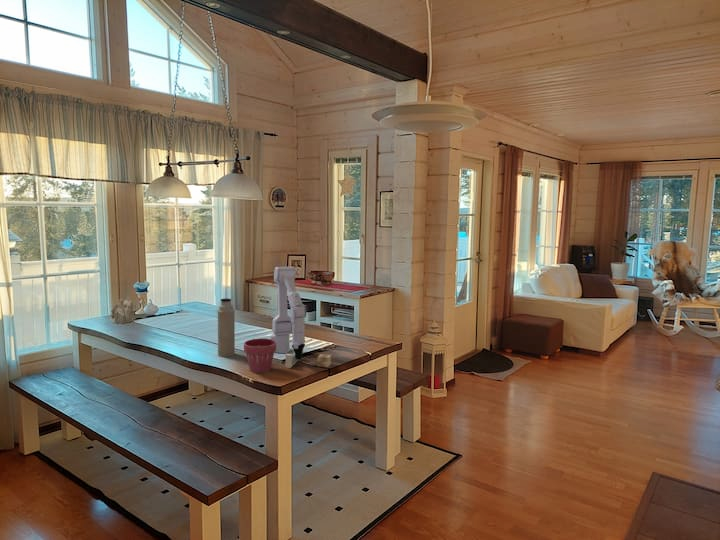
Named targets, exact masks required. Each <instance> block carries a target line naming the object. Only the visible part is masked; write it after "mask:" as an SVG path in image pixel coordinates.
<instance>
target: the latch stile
mask: <svg viewBox="0 0 720 540" xmlns="http://www.w3.org/2000/svg"><path fill="white" fill-rule="evenodd" d="M292 354H293V353H285V368H288V369H291V368H292V367H293V366H292Z"/></svg>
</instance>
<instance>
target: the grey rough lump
mask: <svg viewBox="0 0 720 540" xmlns="http://www.w3.org/2000/svg"><path fill="white" fill-rule="evenodd" d="M118 302H119V303H116V304H115V306H114V307H113V308H112V309H111V311H110V312H111V313H110V315H111V317H110V319H109V321H110V322H111V323H112V324H118V325H119V324H125V323H131V322H133V321H135V320H136V318H135V314H134V313H135V312H134V308H133V307H134V304H133V301H132V300H131V297H130V296H128V297H127V298H126V300H123V299H119V300H118Z"/></svg>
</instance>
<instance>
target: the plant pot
mask: <svg viewBox="0 0 720 540" xmlns="http://www.w3.org/2000/svg"><path fill="white" fill-rule="evenodd" d="M243 351H244V352H245V353H246V357H247V362H248V367H249V371H250V373H255V374H256V373H257V374H262V373H267V372H269V371H270V370H271V369H272V364H273V360H274V355H275V353H276V352H275V351H276V341H274V340H272V339H270V338H253V339H248V340H246V341H245V342H244V343H243Z"/></svg>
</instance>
